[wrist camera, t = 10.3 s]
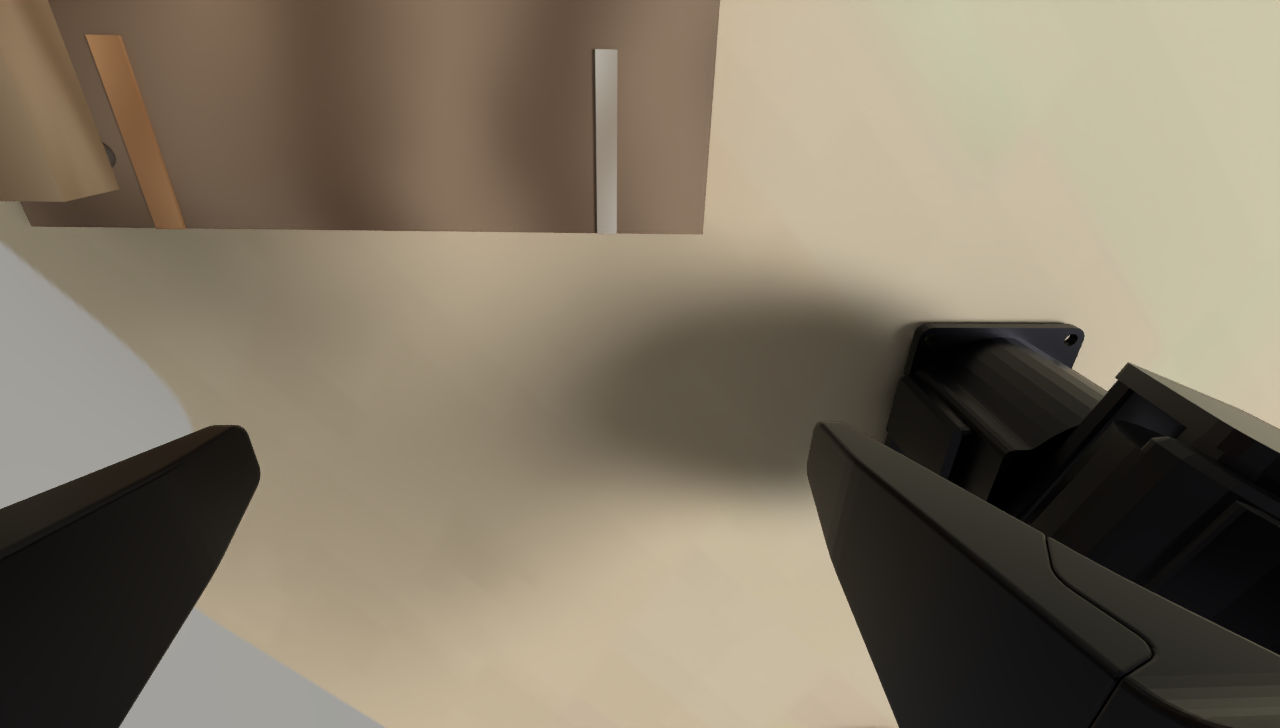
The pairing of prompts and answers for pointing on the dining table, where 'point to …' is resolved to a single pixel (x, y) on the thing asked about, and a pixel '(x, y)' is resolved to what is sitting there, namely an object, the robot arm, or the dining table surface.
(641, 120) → the walnut board
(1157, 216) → the dining table surface
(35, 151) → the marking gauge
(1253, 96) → the dining table surface
